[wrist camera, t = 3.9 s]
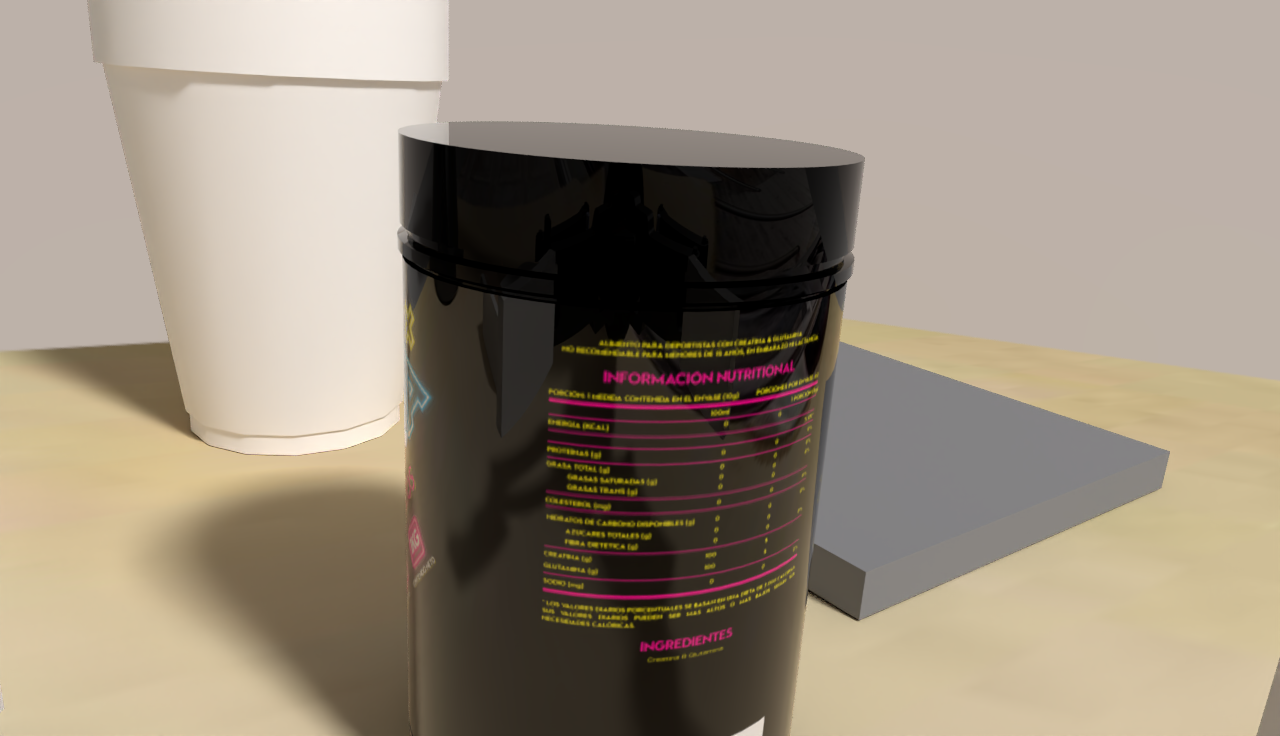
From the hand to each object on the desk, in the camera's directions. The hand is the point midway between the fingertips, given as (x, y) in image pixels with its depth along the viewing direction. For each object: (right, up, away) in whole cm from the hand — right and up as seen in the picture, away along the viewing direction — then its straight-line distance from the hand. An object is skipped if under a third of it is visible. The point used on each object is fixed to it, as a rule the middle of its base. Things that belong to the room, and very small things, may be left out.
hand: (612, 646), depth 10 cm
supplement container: (0, -4, +8) cm, 9 cm away
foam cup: (-11, +1, +21) cm, 24 cm away
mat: (+7, 0, +21) cm, 22 cm away
